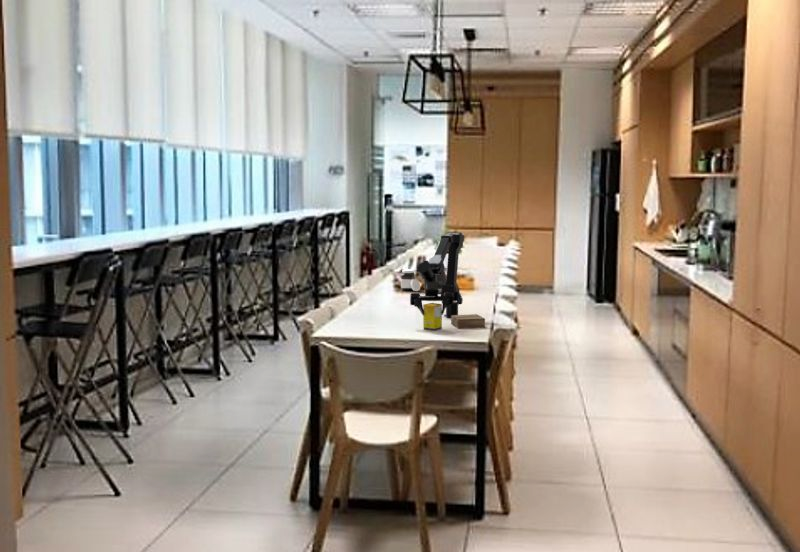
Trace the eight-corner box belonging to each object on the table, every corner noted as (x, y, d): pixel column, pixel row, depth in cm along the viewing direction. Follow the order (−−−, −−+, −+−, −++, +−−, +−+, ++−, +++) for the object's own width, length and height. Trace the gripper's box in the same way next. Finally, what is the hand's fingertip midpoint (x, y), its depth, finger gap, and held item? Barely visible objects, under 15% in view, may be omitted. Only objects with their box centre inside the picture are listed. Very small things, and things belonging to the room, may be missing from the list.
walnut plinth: (451, 324, 411) (451, 315, 410) (476, 323, 413) (476, 314, 413) (458, 328, 399) (458, 319, 398) (484, 327, 401) (484, 318, 401)
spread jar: (404, 288, 531) (403, 268, 530) (423, 289, 528) (423, 269, 527) (398, 291, 520) (398, 271, 518) (418, 292, 517) (417, 271, 515)
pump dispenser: (426, 293, 512) (426, 265, 510) (433, 290, 522) (433, 264, 520) (443, 294, 508) (443, 266, 506) (450, 291, 518) (450, 264, 516)
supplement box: (431, 327, 403) (431, 302, 401) (442, 328, 399) (442, 303, 398) (422, 329, 398) (422, 304, 397) (433, 330, 394) (433, 305, 393)
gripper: (410, 274, 399) (411, 303, 390) (453, 274, 400) (455, 303, 390) (409, 290, 408) (410, 318, 398) (451, 289, 409) (453, 318, 399)
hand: (432, 314), depth 396 cm, fingers closed on supplement box, 8 cm apart
